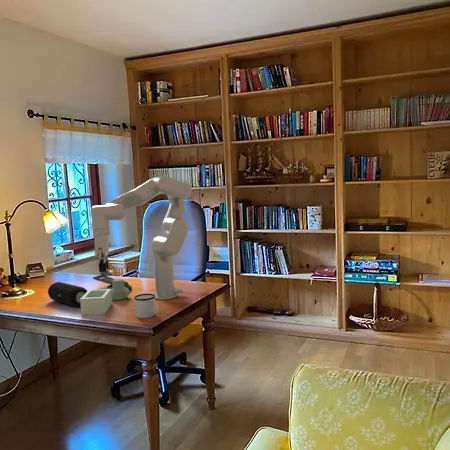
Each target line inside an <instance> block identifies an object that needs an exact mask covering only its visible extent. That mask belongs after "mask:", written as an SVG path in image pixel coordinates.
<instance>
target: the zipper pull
mask: <svg viewBox="0 0 450 450" xmlns="http://www.w3.org/2000/svg"><path fill="white" fill-rule="evenodd" d="M92 279H93V280H96V281H99V282H102V283H105V284H109V285H107V287H106V289H112V288H113V287H112V281H113V280H114V279H115V278H112V277H111V276H101V274H100V275H99V274H98V275H96V276H95V275H94V277H92ZM124 287H126V288H128V289H129V291H130V292H131V291H132V290H133V287H132V285H129V282H128V281H126V280H124Z"/></svg>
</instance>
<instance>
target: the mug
mask: <svg viewBox="0 0 450 450" xmlns="http://www.w3.org/2000/svg"><path fill="white" fill-rule="evenodd" d="M154 294H155V293H141V294H138V295H135V296H134V297H133V299H134V300H135V311H136V314H135V315H136V318H139V319H150V318H152V317H154V316H155V315H156V314H158V313H159V305H158V303H157V302H155V299H154V298H155V295H154Z"/></svg>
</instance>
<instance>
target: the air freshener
mask: <svg viewBox="0 0 450 450" xmlns="http://www.w3.org/2000/svg"><path fill="white" fill-rule="evenodd" d="M113 279H114V280H113V281H112V287H113V288H112V289H111V292H112V301H113V300H114V301H122V300H124V299H126V298H128V297H129V296H130V293H131V291H129V289H128V288H126V287H124V281H125V280H124V279H123V278H113Z"/></svg>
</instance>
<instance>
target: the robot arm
mask: <svg viewBox="0 0 450 450" xmlns="http://www.w3.org/2000/svg"><path fill="white" fill-rule="evenodd" d="M192 190H193V189H192V187H191V185H190V184H189V183H187V182H185V181H182V180H178V179H175V178H171V177H167V176H154V177H151V178H150V179H148V180H147V181H145V182H143V183H142V184H141V185H138V186H137V187H136V188H134V189H132V190H130V191H128V192H125V193H122V194H121V195H119V196H118V197H115V198H114V199H112V200H110V201H109V202H107V203H106V204H105V205H93V206H92V207H91V223H92V236H93V237H94V256H95V258H98V272H99V273H101V272H106V263H105V257H106V260H107V270H108V269H109V257H108V255H109V254H110V249H109V248H110V245H109V237H108V236H110V235H111V234H110V233H111V230H110V221H121V220H123V219H125V217H126V216H127V210H128V209H132V208H135V207H139V206H142V205H145V204H146V203H148V202H149V201H150V200H153V199H155V197H157V196H159V195H161V194H162V195H166V196H167V198H168V201H169V206H168V209H167V212H166V214H165V216H164V218H163V221H162V224H161V231H162V233H163V234H165V235H167V236H165V235H157V236H155V237H154V238H153V239H152V240H151V244H150V250H151V253H152V258H153V269H154V281H155V293H153V294H154V295H155V298H154V300H171V299H175V298H176V297H178V295H179V294H181V293H184V289H183V288H180V287H179V288H176V285H175V281H174V280H175V279H174V264H173V257H175V256H177V255H178V254H179V253H180V251H181V249H182V246H183V244H184V242H185V239H186V238H187V236H188V235H187V234H188V232H189V225H188V222H187V220H186V219H184V216H185V213H186V202H185V200H187V199H189V198H190V197H191V195H192V193H193V191H192ZM178 293H179V294H178Z"/></svg>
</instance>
